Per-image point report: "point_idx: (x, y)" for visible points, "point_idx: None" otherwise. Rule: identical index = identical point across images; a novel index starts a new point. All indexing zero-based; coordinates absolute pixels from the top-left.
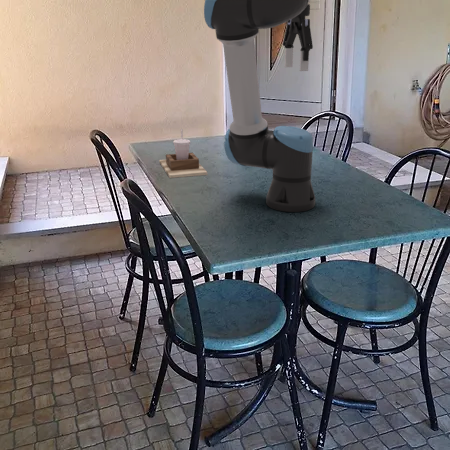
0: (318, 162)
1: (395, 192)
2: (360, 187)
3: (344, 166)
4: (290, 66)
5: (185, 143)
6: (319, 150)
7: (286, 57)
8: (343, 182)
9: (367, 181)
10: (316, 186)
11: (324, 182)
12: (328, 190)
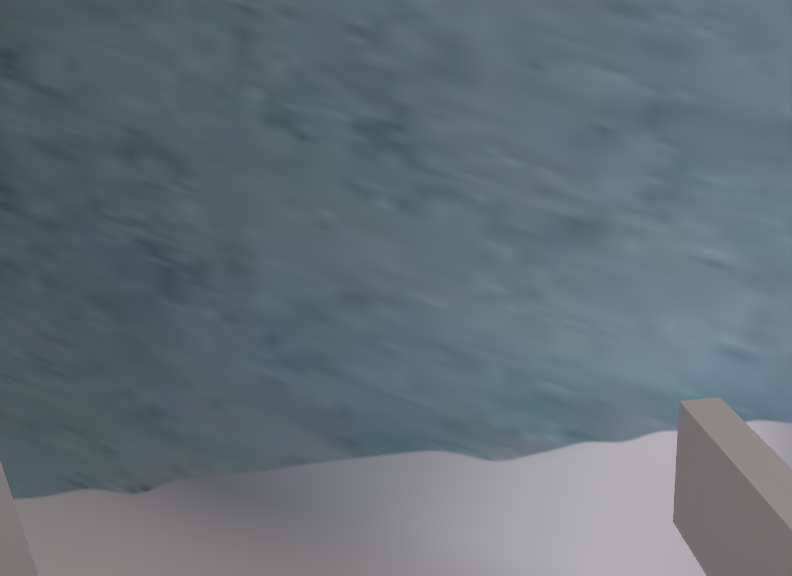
0: (482, 354)
1: None
2: (73, 387)
3: (389, 439)
4: (679, 497)
5: None
6: None
7: (784, 538)
8: (147, 348)
9: (153, 443)
10: (96, 214)
11: (154, 270)
12: (36, 246)
